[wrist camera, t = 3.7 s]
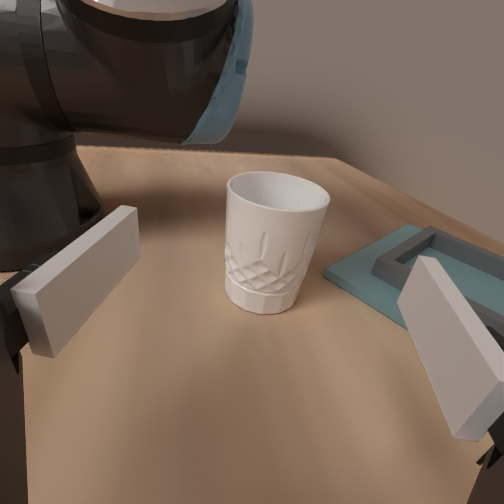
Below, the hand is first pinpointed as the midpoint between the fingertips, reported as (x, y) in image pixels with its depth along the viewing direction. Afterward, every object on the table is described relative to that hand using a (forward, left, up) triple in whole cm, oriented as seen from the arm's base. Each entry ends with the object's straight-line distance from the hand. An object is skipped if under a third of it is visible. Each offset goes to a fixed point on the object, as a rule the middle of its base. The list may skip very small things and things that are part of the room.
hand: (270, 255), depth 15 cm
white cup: (-7, +8, -11) cm, 15 cm away
